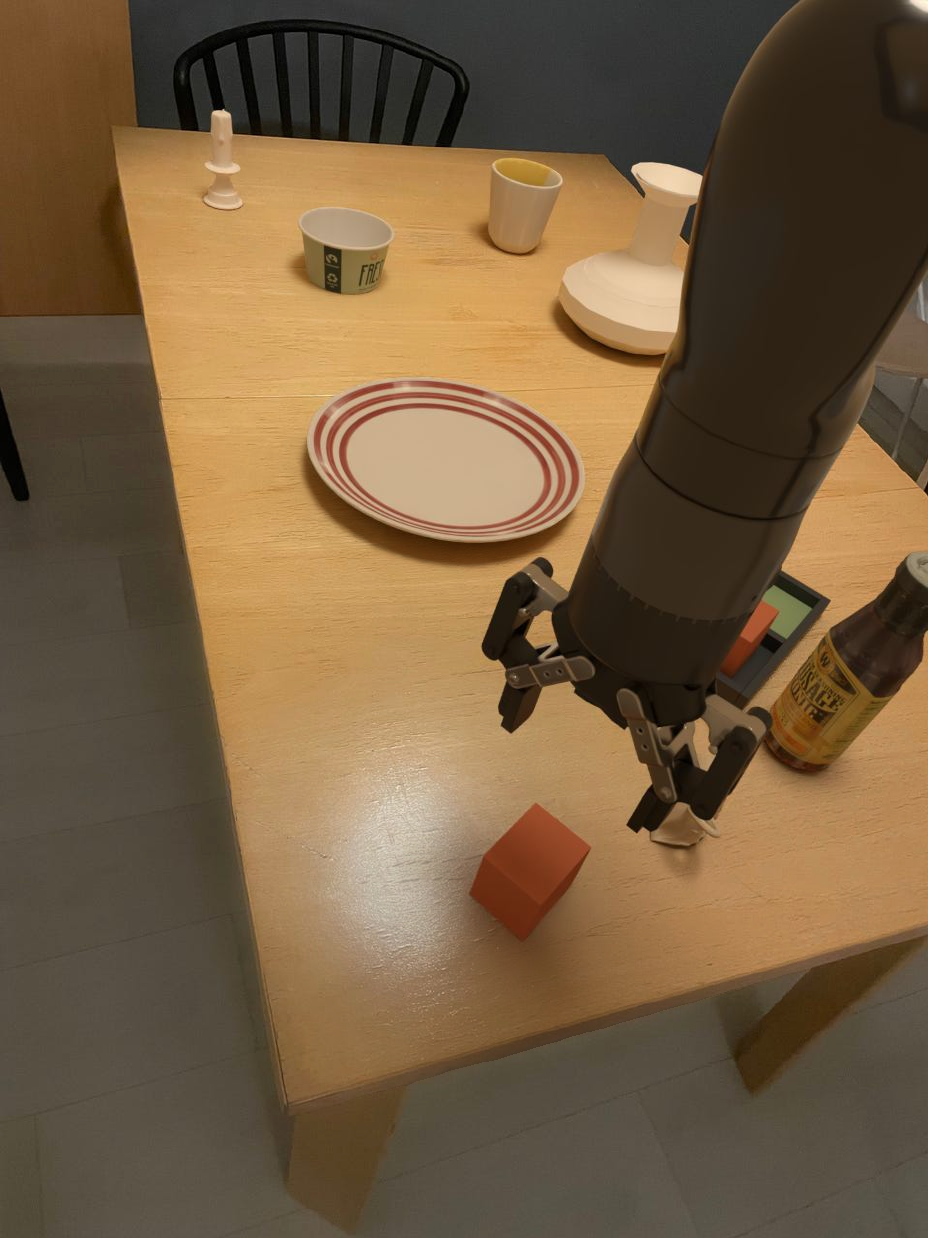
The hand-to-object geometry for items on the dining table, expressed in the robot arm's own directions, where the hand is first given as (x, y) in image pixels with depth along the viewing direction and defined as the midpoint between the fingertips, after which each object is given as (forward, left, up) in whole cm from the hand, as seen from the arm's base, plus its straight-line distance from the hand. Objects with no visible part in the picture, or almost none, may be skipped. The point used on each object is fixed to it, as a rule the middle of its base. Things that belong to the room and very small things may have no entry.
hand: (576, 769), depth 48 cm
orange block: (0, 0, -14) cm, 14 cm away
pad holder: (+1, -34, -14) cm, 37 cm away
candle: (+94, -52, -14) cm, 108 cm away
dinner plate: (+33, -30, -14) cm, 47 cm away
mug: (+65, -82, -14) cm, 106 cm away
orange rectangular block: (+1, -30, -13) cm, 33 cm away
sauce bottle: (-9, -26, -14) cm, 31 cm away
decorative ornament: (-5, -13, -14) cm, 20 cm away
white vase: (+39, -74, -14) cm, 85 cm away
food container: (+69, -51, -14) cm, 87 cm away
